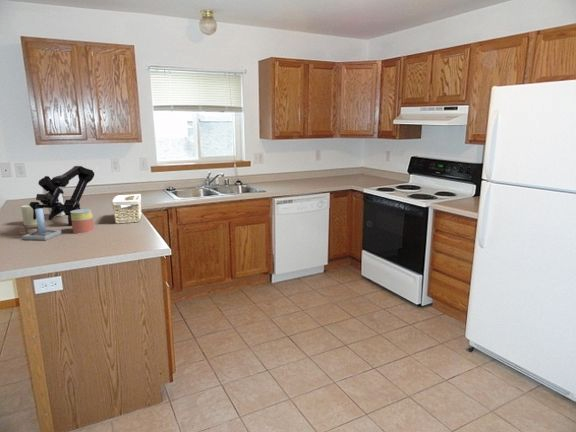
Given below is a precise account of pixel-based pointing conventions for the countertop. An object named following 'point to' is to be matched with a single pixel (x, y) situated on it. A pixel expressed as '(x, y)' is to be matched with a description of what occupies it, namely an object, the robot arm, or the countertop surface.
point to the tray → (42, 238)
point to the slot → (23, 230)
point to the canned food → (82, 220)
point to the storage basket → (127, 208)
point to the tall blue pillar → (40, 223)
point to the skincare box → (61, 202)
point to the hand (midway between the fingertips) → (41, 219)
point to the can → (28, 215)
